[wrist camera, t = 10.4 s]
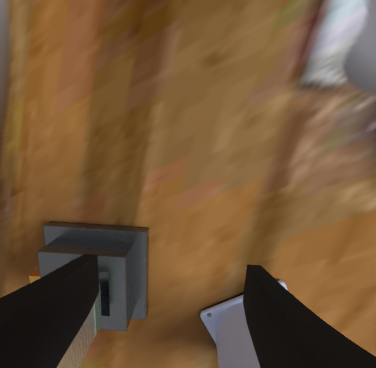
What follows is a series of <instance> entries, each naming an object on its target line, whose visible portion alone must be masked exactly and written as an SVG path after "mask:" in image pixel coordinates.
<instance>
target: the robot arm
mask: <svg viewBox="0 0 376 368" xmlns="http://www.w3.org/2000/svg"><path fill="white" fill-rule="evenodd" d="M98 294H99V274H98V256H97V255H91V254H84V255H82V256H80V257H78V258H76V259H74V260H72V261H70V262H69V263H67V264H65V265H63V266H61V267H60V268H58V269H56V270H54V271H52V272H51V273H49V274H47V275H45V276H43V277H41V278H40V279H38V280H36V281H34V282H32V283H30V284H28V285H26V286H24V287H22V288H20V289H18V290H16V291H14V292H12V293H10V294H8V295H6V296H4V297H2V298H0V368H57V366H58V364H59V363H60V361H61V360H62V358H63V356H64V355H65V353H66V351H67V350H68V348H69V346H70V345H71V343H72V341H73V340H74V338H75V337H76V335H77V333H78V332H79V330H80V328H81V327H82V325H83V323H84V322H85V320H86V318H87V317H88V315H89V313H90V311H91V309H92V307H93V305H94V303H95V300H96V298H97V296H98ZM208 313H211V314H208ZM200 317H201V319H202V321H203V323H204V324H205V326H206V328H207V330H208V331H209V333H210V335H211V336H212V338H213V340H214V341H215V343H216V345H217V355H218V366H219V368H376V357H375V356H374V355H372V354H370V353H369V352H367V351H366V350H364V349H363V348H361V347H360V346H358V345H357V344H355V343H354V342H352V341H351V340H349V339H348V338H346V337H345V336H344V335H342V334H341V333H340V332H338V331H337V330H335V329H334V328H333V327H331V326H330V325H329V324H327V323H326V322H325V321H323V320H322V319H321V318H319V317H318V316H317V315H316V314H314V313H313V312H312V311H311V310H310V309H308V308H307V307H306V306H305V305H303V304H302V303H301V302H300V301H299V300H298V299H296V298H295V297H294V296H293V295H292V294H291V293H290V292H289V291H288V289H287V287H286V285H285V283H284V282H283V281H277V280H276V279H275V278H273V277H272V276H271V275H270V274H269V273H268V272H267V271H266V270H265V269H264V268H263V267H262V266H260V265H247V271H246V279H245V287H244V294H243V295H241V296H238V297H236V298H233V299H231V300H228V301H226V302H223V303H221V304H218V305H216V306H213V307H211V308H208V309H205V310H203V311H201V313H200Z"/></svg>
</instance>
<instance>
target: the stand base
mask: <svg viewBox="0 0 376 368" xmlns="http://www.w3.org/2000/svg"><path fill="white" fill-rule="evenodd" d="M43 228H44V237H45V247H43V248H42V249H40V250H39V251H38V252H37V253H38V261H39V269H40V272H33V273H32V274H31V275H30V276H29V279H30V283H32V282H34V281H36V280H38V279H40V278H41V277H43V276H45V275H47V274H49V273H51V272H52V271H54V270H56V269H58V268H60V267H61V266H63V265H65V264H67V263H69V262H70V261H72V260H74V259H76V258H78V257H80V256H82V255H84V254H91V255H97V256H98V274H99V283H100V295H101V315H102V325H101V327H100V329H106V330H119V331H127V328H128V326H129V323H130V320H131V319H143V320H146V317H147V313H148V244H149V228H143V227H127V226H111V225H96V224H80V223H65V222H49V223H47V224H45V225H44V226H43Z"/></svg>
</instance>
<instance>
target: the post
mask: <svg viewBox="0 0 376 368" xmlns="http://www.w3.org/2000/svg"><path fill="white" fill-rule="evenodd" d="M101 325H102V315H101V295H100V283H99V294H98V296H97V298H96V300H95V303H94V305H93V307H92V309H91V311H90V313H89V315H88V317H87V318H86V320H85V322H84V323H83V325H82V327H81V328H80V330H79V332H78V333H77V335H76V337H75V338H74V340H73V341H72V343H71V345H70V346H69V348H68V350H67V351H66V353H65V355H64V356H63V358H62V360H61V361H60V363H59V364H58V366H57V368H79V367H80V365H81V363H82V361H83V359H84V357H85V355H86V353H87V351H88V349H89V347H90V345H91V343H92V341H93V339H94V337H95V335H97V333H98V331H99V329H100V327H101Z"/></svg>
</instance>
